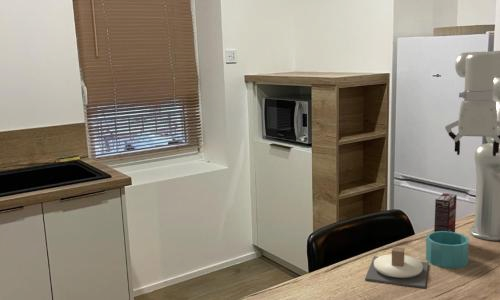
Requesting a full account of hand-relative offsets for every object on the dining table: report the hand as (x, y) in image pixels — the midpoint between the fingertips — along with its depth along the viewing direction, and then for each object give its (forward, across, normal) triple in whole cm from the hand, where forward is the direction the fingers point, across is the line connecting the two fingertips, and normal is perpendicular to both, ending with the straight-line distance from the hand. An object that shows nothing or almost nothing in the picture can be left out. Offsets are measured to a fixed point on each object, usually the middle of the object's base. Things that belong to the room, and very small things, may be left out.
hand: (476, 154), depth 143 cm
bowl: (+32, -7, -4) cm, 33 cm away
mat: (+32, -20, -17) cm, 42 cm away
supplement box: (+32, -8, +10) cm, 35 cm away
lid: (+31, -20, -17) cm, 40 cm away
